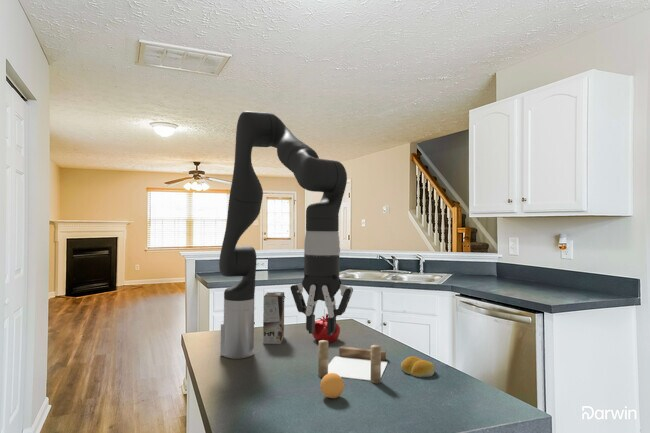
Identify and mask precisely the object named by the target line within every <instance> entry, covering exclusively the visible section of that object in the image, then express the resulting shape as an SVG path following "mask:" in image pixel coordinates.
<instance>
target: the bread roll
mask: <svg viewBox="0 0 650 433" xmlns="http://www.w3.org/2000/svg"><path fill="white" fill-rule="evenodd" d="M400 368H401V370H402V371H403V373H405V374H408V375H410V376H413V377H416V378H428V377H432V376H434V374H435V370H436V368H435V365H434V364H433V363H432V362H431V361H430V360H429V361H428V360H427V359H426V360H425V359H421V358H420V357H418V356H413V355H412V356H409V357H406V358H405V359H403V361H402V362H401V363H400Z"/></svg>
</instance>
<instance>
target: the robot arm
mask: <svg viewBox="0 0 650 433" xmlns="http://www.w3.org/2000/svg"><path fill="white" fill-rule="evenodd" d="M234 147H235V149H234V153H235V154H234V163H233V164H234V166H233V171H232V172H233V174H232V180H231V186H230V191H229V198H228V206H227V217H226V225H225V231H224V234H223V235H224V236H223V241H222V244H221V248H220V255H219V260H218V263H219V264H218V267H219V272H220V274H221V275H222V276H223V277H228V278H229V277H242V278H241V280H240V281H239V282H237V283H236V284H234V285H232V286H229V287H227V288H226V289H225V290H224V291H223V322H222V323H220V352H219V353H220V356H223V357H224V358H228V359H233V360H236V359H239V360H240V359H245V358H249V357H252V356H253V355H254V353H255V352H254V351H255V349H254V348H255V343H254V342H255V292H256V276H257V275H256V274H257V261H258V260H257V253H256V249H255V248H254V247H253V246H251V245H250V246H249V245H247V246H245V245H244V246H243V245H242V246H240V245H239V246H237V244H238V242H239V240H240V239H241V237H242V235H243V234H245V232H246V231H247V230H248V229H249V228H250V227H251V226H252V224H253V223H254V222H255V221H256V219H257V218H258V217H259V215H260V213H261V208H262V202H263V196H264V191H263V186H262V183H261V181H260V179H259V178H258V176H257V174H256V172H255V169H254V167H253V163H252V162H253V161H252V152H253V148H269V147H272V148H276V153H277V154H276V155H277V157H278V160H279V161H280V163H281V164H282V165H283V166H284V167H286V168H287V169H288V170H289V171H290V172H292V173H293V176H294V177H295V180H296V181H297V183H298V185H299V186H300V187H301V188H302V189H304V190H306V191H309V192H315V193H316V192H318V193H323V194H322V196H321V199H320V201H319V202H315V203H310V204H309V205H307V207H306V209H305V210H306V211H305V234H304V235H305V236H304V245H303V246H304V248H303V249H304V250H303V251H304V252H303V254H304V255H303V257H304V258H303V268H304V269H303V279H302V281H301V282H299V283H295V284H293V285H291V286H290V291H291V295H292V298H293V301H294V304H295V306H296V309H297V312H298V313H302V314H304V315H305V318H306V319H305V329H306V331H308V334H309V335H312V334H313V333H314V332H315V321H316V314H315V310H316V306H317V303H318V301H322V302H324V303H325V307H326V310H327V314H328V315H329V316H328V318H327V335H332V334H333V333H334V332H335V330H336V323H337V317H339V316H342V315H343V314H344V313H345V312H346V310H347V308H348V305H349V302H350V300H351V297H352V294H353V292H354V288H353V287H352V286H346V285H344V284H343V283H342V280H341V279H340V255H341V254H340V252H341V248H340V246H341V245H340V242H341V241H340V235H339V226H340V224H339V223H340V221H339V219H340V218H339V214H340V209H341V205H342V203H343V198H344V195H345V191H346V188H347V182H348V174H347V169H346V167H345V166H344V164H343V163H341V162H340V161H338V160H334V159H332V160H331V159H325V158H324V159H323V158H320V157H319V155H318V153H317V151H316V150H314V148H312V147H310V146H309V145H307V144H306V143H305V142H303V141H302V140H300V139H299V138H298V137H296V136H295V135H294V134H293V132H292V131H291V130H290V128H288V127H287V126H286V124H285V123H284V122H283V121H282V120H281V119H280V118H279V117H278V116H277V115H276V114H274V113H272V112H271V113H270V112H268V111H267V112H264V111H255V110H254V111H253V110H251V111H250V110H244V111H243V112H241V113H240V115H239V116H238V119H237V124H236V131H235V146H234ZM304 291H305V292H306V294H307V295H308V297H307V302H306V301H305V298H304V296H303V292H304ZM339 291H340V296H342V297H341V300H340V302H339V306H338V307H337V306H336V299H335V296H336V294H337V293H338V292H339Z"/></svg>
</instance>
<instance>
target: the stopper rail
mask: <svg viewBox="0 0 650 433" xmlns="http://www.w3.org/2000/svg"><path fill="white" fill-rule="evenodd" d="M338 349H339V350H338V357H346V358H356V359H366V360H371V348H363V347H352V346H342V345H341V346H340V347H339V348H338ZM381 361H385V362H386V361H387V351H386V350H385V349H384V350H383V349H381Z"/></svg>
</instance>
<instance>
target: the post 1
mask: <svg viewBox="0 0 650 433" xmlns="http://www.w3.org/2000/svg"><path fill="white" fill-rule="evenodd" d="M317 363H318V376H319V377H321V378H323V377H324V376H325V375H326V374H328V364H329V342H328V341H327V340H320V341H319V342H318V362H317Z"/></svg>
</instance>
